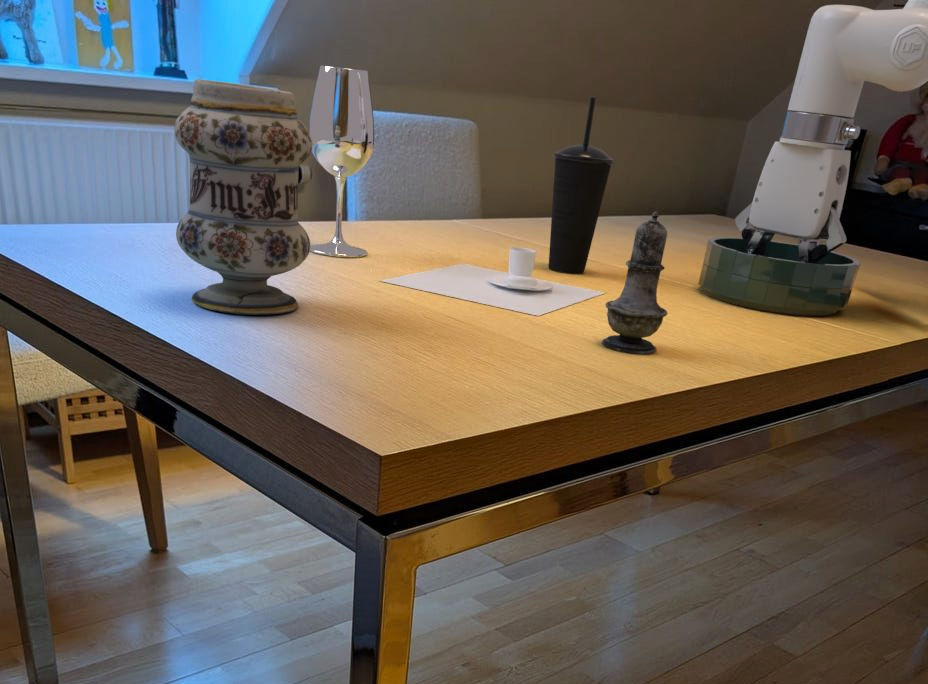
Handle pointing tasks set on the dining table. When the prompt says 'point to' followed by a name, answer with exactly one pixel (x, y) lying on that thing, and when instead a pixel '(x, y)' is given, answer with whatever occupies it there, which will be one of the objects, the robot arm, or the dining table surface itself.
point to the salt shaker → (639, 293)
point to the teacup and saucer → (499, 285)
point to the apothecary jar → (243, 193)
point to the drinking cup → (577, 201)
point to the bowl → (777, 278)
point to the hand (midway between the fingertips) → (771, 290)
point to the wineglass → (341, 138)
